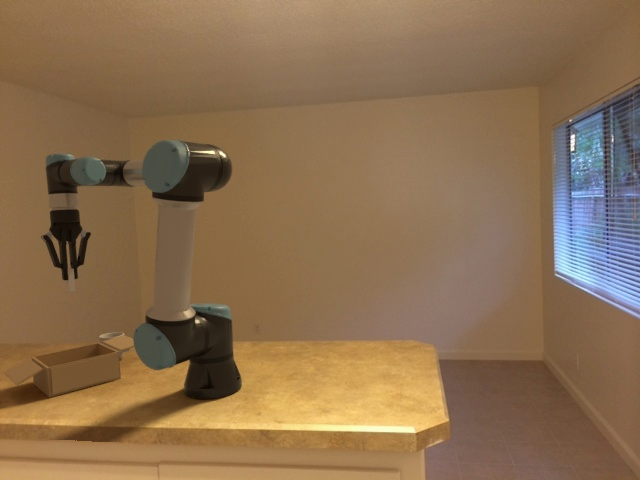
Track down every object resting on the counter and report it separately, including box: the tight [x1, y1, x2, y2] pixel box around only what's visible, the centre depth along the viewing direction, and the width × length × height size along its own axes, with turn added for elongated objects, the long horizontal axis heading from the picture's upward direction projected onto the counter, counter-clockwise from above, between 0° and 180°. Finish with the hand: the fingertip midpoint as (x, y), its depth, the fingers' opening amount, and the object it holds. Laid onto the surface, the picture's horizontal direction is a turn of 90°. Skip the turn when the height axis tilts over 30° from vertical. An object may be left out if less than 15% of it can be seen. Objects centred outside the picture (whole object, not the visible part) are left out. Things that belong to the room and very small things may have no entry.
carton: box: [30, 342, 122, 398], centre depth 144 cm, size 17×19×8 cm
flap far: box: [103, 334, 135, 351], centre depth 153 cm, size 15×1×7 cm
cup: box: [98, 331, 132, 359], centre depth 166 cm, size 11×8×8 cm
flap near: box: [3, 357, 43, 387], centre depth 135 cm, size 15×1×7 cm
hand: (71, 291), depth 142 cm, fingers closed
